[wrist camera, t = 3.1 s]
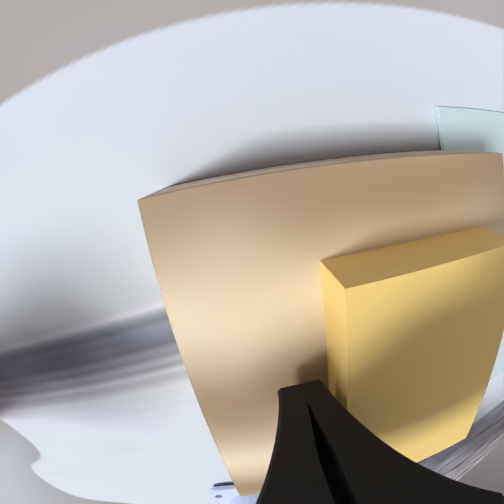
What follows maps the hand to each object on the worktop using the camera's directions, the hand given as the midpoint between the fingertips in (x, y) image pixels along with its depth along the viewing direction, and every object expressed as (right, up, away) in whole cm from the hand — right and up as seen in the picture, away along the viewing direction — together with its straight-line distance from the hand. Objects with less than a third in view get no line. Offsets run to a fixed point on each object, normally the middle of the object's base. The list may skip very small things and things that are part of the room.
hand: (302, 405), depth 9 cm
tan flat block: (+2, +2, +5) cm, 5 cm away
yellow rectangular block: (+4, +1, +1) cm, 4 cm away
